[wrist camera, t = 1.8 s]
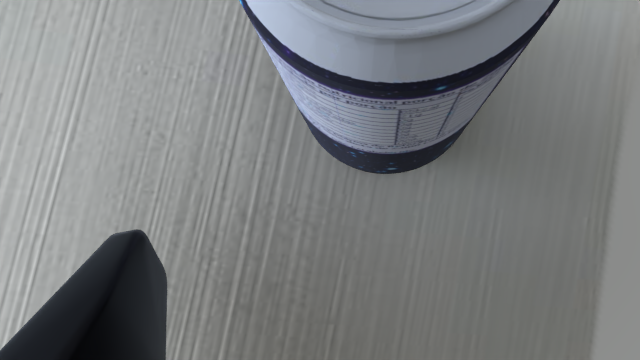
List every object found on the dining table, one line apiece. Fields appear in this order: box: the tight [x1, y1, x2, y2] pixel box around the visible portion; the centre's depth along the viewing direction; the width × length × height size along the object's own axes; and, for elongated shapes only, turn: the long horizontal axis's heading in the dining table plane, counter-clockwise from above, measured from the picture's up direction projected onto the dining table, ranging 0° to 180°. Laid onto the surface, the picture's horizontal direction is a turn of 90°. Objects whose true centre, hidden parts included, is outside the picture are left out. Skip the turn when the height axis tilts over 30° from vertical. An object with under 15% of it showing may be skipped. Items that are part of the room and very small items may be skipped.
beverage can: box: [240, 0, 560, 174], centre depth 14 cm, size 6×6×12 cm
